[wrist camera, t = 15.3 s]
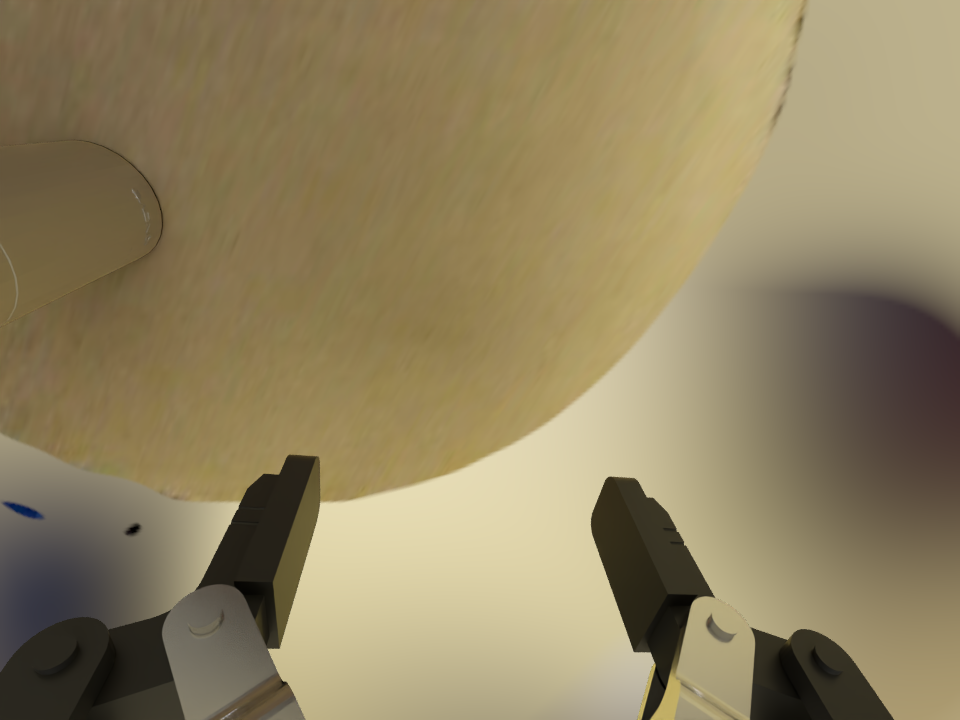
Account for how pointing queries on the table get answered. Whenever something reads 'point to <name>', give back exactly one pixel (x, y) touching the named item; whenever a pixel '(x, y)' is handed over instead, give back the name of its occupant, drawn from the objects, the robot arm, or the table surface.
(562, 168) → the table surface
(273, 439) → the table surface
